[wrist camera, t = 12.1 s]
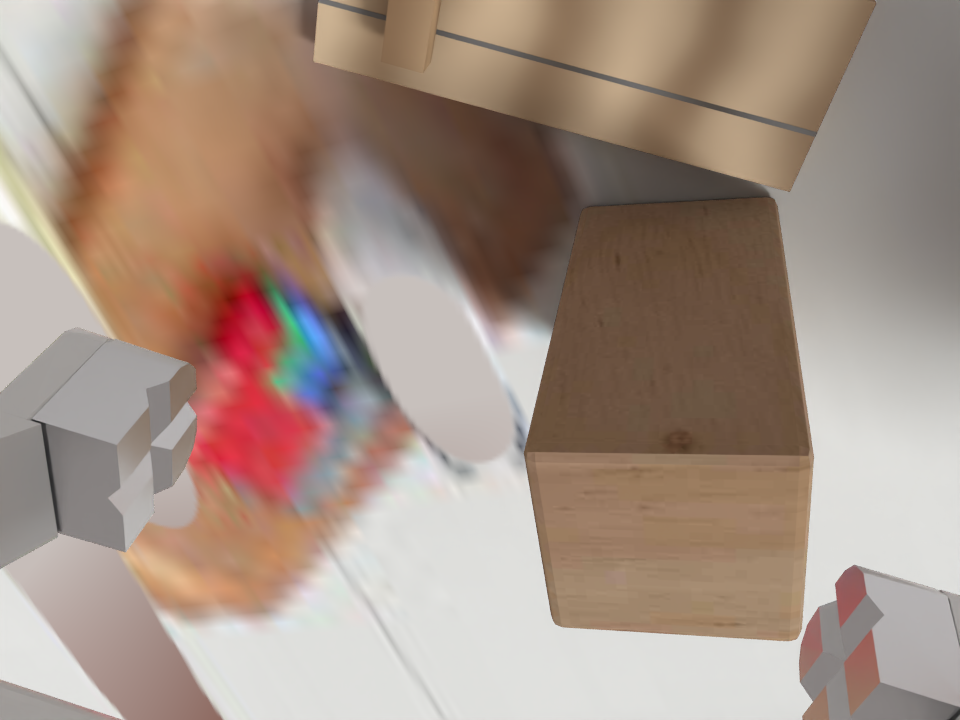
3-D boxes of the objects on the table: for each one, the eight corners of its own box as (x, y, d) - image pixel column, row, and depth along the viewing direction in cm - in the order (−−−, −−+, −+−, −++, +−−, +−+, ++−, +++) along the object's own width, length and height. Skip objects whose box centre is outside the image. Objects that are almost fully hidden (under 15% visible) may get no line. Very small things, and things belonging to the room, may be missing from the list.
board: (869, -10, 39) (876, 3, 38) (786, 174, 45) (789, 192, 43) (344, -148, 40) (329, -142, 39) (326, 49, 46) (313, 61, 44)
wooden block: (580, 203, 48) (519, 451, 32) (777, 192, 46) (816, 455, 30) (595, 356, 54) (550, 631, 38) (771, 354, 51) (802, 647, 35)
